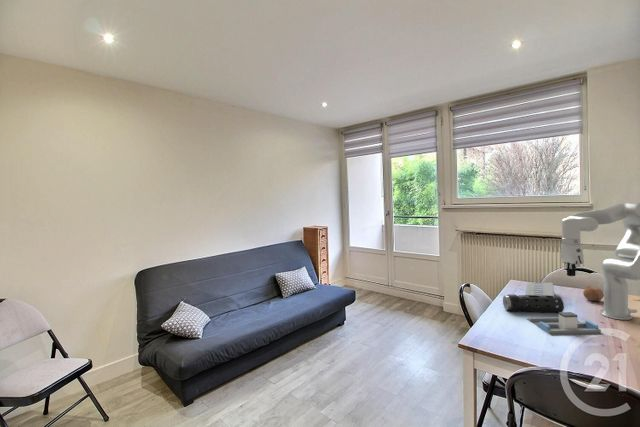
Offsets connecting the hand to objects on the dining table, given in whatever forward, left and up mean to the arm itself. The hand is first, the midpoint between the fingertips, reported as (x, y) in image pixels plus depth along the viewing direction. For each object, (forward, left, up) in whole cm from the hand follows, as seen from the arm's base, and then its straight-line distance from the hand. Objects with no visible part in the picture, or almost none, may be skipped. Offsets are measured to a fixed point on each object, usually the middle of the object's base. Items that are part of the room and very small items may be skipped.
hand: (571, 275), depth 160 cm
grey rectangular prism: (+10, +11, -24) cm, 28 cm away
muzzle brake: (+12, -13, -25) cm, 31 cm away
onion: (-35, -29, -25) cm, 52 cm away
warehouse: (-8, -37, -26) cm, 45 cm away
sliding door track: (+10, +8, -25) cm, 28 cm away
